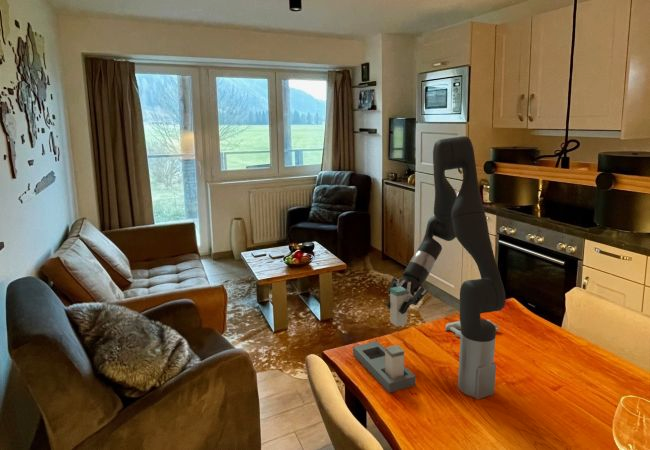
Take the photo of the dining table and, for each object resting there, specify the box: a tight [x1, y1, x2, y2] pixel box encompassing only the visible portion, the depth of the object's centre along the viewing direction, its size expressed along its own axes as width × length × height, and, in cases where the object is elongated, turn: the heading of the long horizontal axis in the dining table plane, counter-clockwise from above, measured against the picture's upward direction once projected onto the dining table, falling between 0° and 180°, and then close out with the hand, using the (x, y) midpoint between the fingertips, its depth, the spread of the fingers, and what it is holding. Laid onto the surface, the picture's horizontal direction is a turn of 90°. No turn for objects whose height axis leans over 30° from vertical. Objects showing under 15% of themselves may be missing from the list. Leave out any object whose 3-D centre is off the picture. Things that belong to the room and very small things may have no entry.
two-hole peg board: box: [352, 340, 417, 393], centre depth 135 cm, size 23×9×10 cm, turn 23°
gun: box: [445, 319, 500, 339], centre depth 159 cm, size 18×3×10 cm
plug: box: [389, 286, 408, 328], centre depth 142 cm, size 4×4×12 cm
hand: (394, 310), depth 141 cm, fingers closed on plug, 5 cm apart
